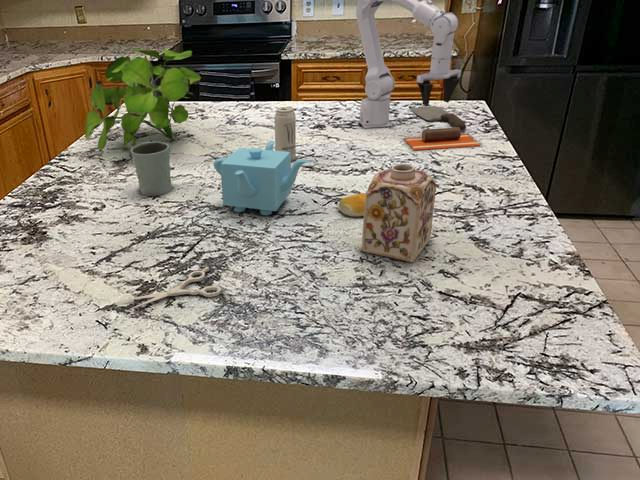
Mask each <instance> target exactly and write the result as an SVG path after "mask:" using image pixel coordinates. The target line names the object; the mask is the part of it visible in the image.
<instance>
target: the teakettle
mask: <svg viewBox="0 0 640 480" xmlns="http://www.w3.org/2000/svg"><path fill="white" fill-rule="evenodd" d="M274 146H275V140H270V141H268V142H266V146H265V149H263V148H261V147H252V148H245V147H238V148H237V149H235V151H234V152H232V153H231V154H230V155H228V157H219V158H216V159H214V160H213V167H214V169H215V171H216V172H217V173H218V174H219V176H220V182H221V194H222V206H228V207H229V206H230V207H234V208H233V211H234V212H236V213H243V212H244V211H246V208H247V209H252V210H253V209H254V210H259V213H260V215H262V216H270V215H272V214H273V212H277V210H279V208H280V207H281V206H282V205H283V203H284V202H285V201H286V200H287V198H288V197H289V196H290V195H291V194H292V187H293V185H294V184H295V181H296V179H297V176H298V173H299V170H300V168H301V166H303V165H305V164H306V163H308V162H310V159H302V158H301V159H297V160H295V161H294V162H293V163H292V161H291V153H290V152H284V151H275V150H274ZM291 164H292V165H291Z"/></svg>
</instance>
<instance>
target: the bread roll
mask: <svg viewBox="0 0 640 480" xmlns="http://www.w3.org/2000/svg"><path fill="white" fill-rule="evenodd" d="M365 198H366V192H364V193H356V194H352V195H349V196H345V197H343V198H342V199H341V200H340V201H339V203H338V210H339V211H340V212H341V213H343V215H345V216H348V217H353V218H354V217H355V218H357V217H364V208H365Z"/></svg>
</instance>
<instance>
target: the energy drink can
mask: <svg viewBox="0 0 640 480" xmlns="http://www.w3.org/2000/svg"><path fill="white" fill-rule="evenodd" d="M296 133H297V131H296V113H295V111H294V107H291V106H281V107H278V108H276V112H275V114H274V151H284V152H290V153H291V162H293V161H294V159H295V158H296V156H297V155H296V151H297V150H296V149H297V148H296V147H297V146H296V144H297V143H296V139H297V138H296V136H297V135H296Z"/></svg>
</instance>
